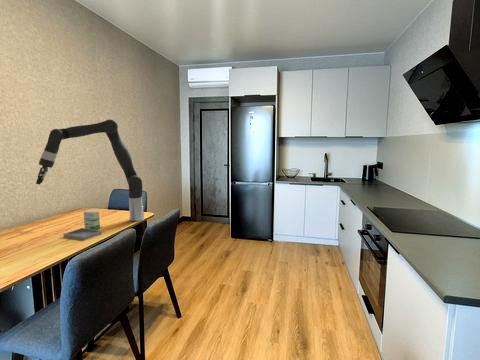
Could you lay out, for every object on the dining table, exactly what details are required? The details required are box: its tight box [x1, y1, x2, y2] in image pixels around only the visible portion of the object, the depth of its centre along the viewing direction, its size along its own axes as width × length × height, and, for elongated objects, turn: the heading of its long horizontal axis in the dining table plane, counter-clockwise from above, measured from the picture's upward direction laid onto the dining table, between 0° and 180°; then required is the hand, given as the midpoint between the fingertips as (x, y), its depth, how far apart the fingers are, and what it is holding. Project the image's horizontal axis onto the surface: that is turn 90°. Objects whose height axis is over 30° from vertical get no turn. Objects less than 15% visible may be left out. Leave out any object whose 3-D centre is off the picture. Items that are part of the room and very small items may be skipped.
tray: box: [63, 227, 103, 241], centre depth 165 cm, size 13×17×2 cm
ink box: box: [83, 210, 101, 230], centre depth 178 cm, size 9×5×12 cm, turn 71°
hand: (38, 183), depth 168 cm, fingers open, 8 cm apart
